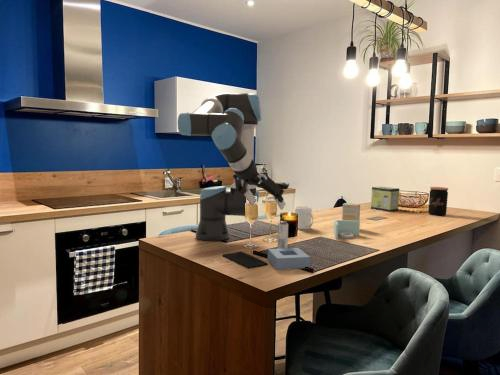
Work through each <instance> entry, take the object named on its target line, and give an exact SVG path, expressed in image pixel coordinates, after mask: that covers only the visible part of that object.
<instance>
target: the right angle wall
mask: <svg viewBox="0 0 500 375" xmlns="http://www.w3.org/2000/svg"><path fill="white" fill-rule="evenodd" d="M333 223H334V224H333V235H334V238H335V240H338V239H339V238H342V239H344V240H345V239H347V240H348V239H349V240H351V239H355V238H354V237H355V236H360V227H361V221H360V220H359V221H350V220H342V219H334V222H333ZM338 237H339V238H338Z"/></svg>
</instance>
